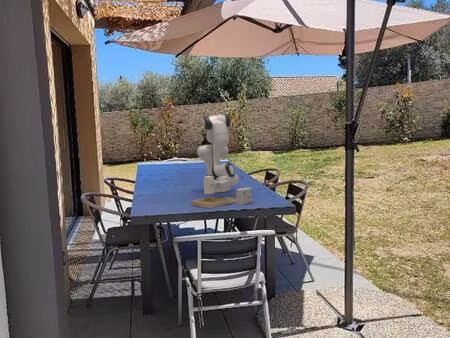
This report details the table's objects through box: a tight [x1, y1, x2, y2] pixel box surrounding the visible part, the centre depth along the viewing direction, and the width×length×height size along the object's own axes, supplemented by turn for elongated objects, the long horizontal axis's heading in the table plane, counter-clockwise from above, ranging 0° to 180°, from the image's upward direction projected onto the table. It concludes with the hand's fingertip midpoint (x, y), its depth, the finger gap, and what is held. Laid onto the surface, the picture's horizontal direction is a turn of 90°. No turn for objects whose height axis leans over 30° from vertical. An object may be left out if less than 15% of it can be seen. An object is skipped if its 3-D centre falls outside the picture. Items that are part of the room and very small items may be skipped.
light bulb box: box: [235, 186, 253, 206], centre depth 323 cm, size 11×7×11 cm, turn 140°
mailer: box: [191, 196, 236, 210], centre depth 329 cm, size 37×18×4 cm, turn 137°
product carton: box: [203, 175, 215, 195], centre depth 320 cm, size 5×5×12 cm
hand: (208, 185), depth 319 cm, fingers closed on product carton, 5 cm apart
